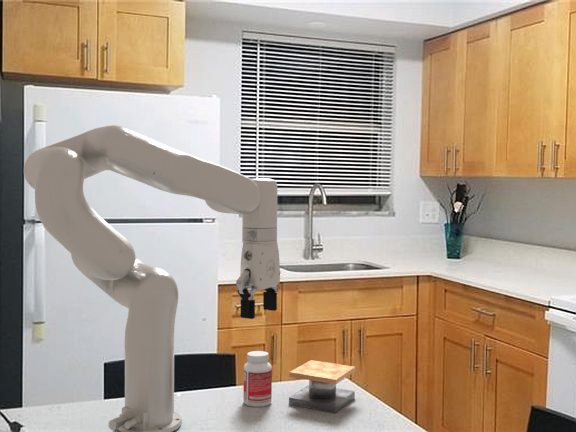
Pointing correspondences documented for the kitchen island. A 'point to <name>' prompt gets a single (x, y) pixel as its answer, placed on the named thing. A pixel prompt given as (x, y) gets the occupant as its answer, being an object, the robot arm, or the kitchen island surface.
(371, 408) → the kitchen island surface
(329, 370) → the stand
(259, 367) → the pill bottle
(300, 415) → the kitchen island surface
